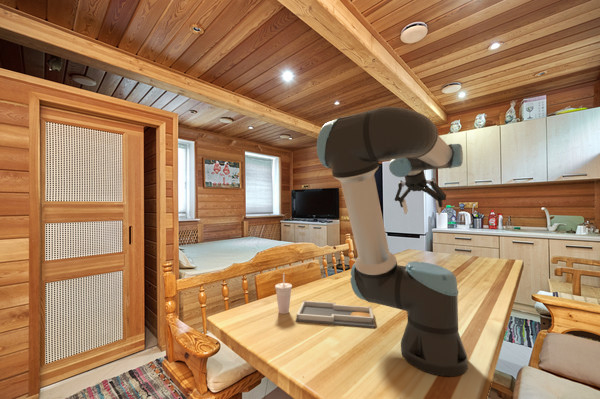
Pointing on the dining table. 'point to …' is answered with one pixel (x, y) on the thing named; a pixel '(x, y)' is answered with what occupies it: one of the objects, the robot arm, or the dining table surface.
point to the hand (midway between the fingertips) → (422, 212)
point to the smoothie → (283, 296)
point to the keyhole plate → (335, 314)
